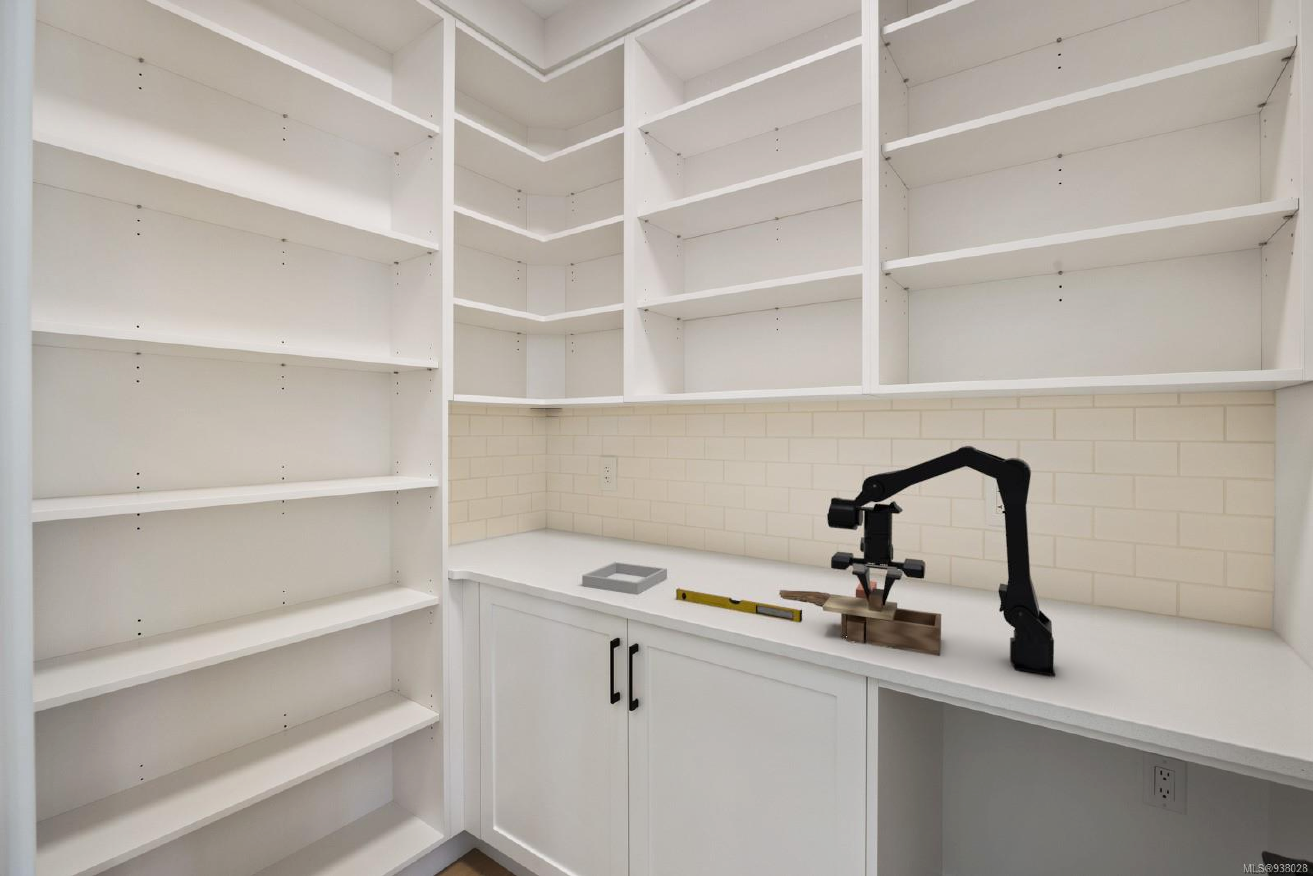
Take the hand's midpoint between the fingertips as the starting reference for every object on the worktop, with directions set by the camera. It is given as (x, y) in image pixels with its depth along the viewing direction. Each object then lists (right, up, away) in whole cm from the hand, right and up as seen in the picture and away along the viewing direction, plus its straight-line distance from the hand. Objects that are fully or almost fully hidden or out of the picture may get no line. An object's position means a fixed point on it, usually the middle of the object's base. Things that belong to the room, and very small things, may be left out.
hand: (876, 603), depth 128 cm
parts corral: (-57, -6, +44) cm, 72 cm away
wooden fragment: (-4, -7, +27) cm, 28 cm away
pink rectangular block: (+2, -2, +12) cm, 12 cm away
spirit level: (-28, -7, +19) cm, 35 cm away
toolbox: (+5, -7, +4) cm, 9 cm away
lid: (-3, -2, +2) cm, 4 cm away
